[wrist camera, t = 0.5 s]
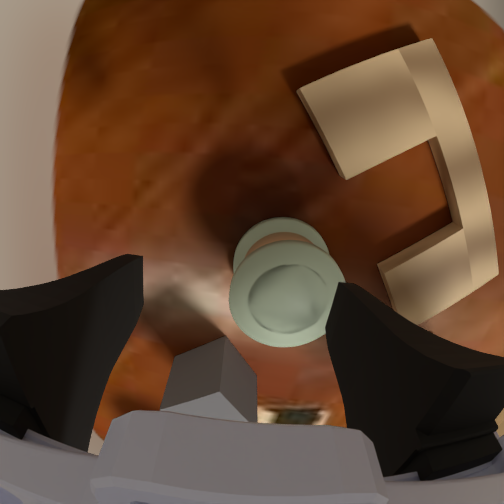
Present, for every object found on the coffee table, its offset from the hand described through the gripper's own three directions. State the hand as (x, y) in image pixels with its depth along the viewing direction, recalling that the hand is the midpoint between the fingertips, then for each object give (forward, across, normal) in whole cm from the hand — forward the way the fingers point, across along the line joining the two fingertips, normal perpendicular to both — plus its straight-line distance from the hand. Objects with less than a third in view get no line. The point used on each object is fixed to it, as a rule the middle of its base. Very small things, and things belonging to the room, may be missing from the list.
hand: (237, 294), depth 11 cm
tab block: (+10, +1, +13) cm, 16 cm away
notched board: (+10, -12, -4) cm, 16 cm away
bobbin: (+10, -3, +3) cm, 10 cm away
